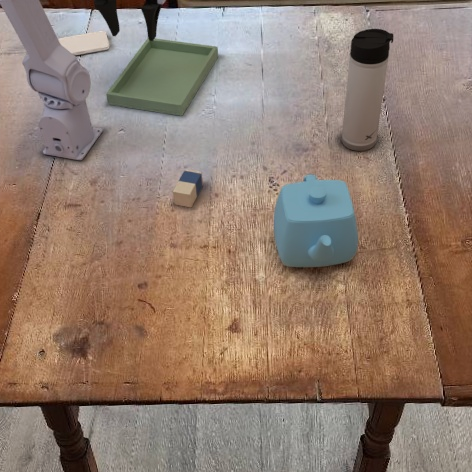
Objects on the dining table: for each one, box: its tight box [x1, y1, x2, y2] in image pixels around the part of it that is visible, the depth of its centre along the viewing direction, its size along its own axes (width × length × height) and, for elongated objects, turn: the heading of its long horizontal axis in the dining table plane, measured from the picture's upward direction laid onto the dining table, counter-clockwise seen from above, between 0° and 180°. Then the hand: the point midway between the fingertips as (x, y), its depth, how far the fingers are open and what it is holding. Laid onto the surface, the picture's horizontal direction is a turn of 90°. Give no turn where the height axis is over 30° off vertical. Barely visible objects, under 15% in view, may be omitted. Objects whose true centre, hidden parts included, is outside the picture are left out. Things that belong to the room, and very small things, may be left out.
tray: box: [105, 37, 219, 117], centre depth 137 cm, size 22×16×2 cm
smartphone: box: [57, 30, 110, 56], centre depth 147 cm, size 7×1×15 cm
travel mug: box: [341, 28, 394, 152], centre depth 115 cm, size 6×7×20 cm
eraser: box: [172, 169, 204, 208], centre depth 115 cm, size 6×3×3 cm, turn 162°
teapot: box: [273, 173, 359, 268], centre depth 102 cm, size 12×18×12 cm
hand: (134, 36), depth 130 cm, fingers open, 7 cm apart
